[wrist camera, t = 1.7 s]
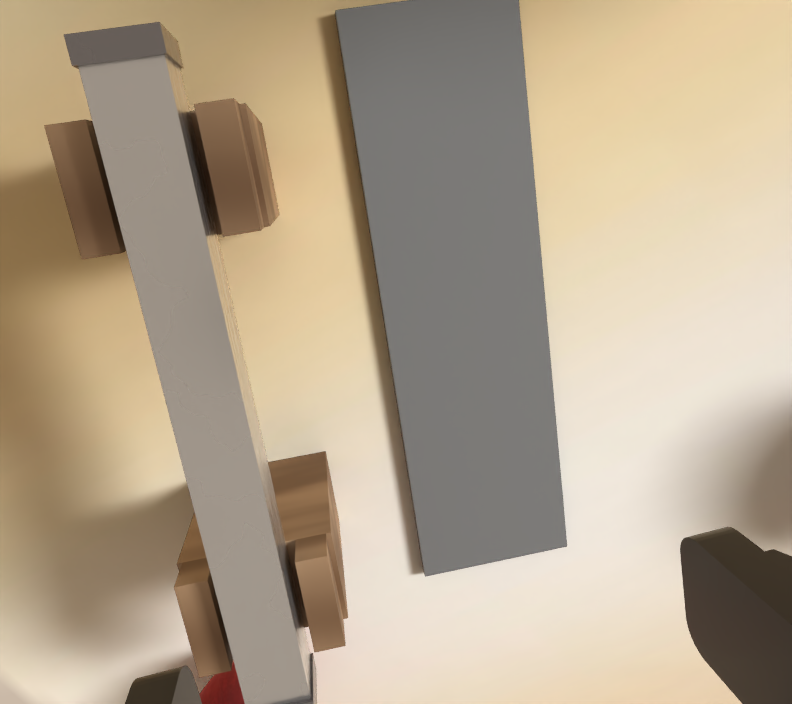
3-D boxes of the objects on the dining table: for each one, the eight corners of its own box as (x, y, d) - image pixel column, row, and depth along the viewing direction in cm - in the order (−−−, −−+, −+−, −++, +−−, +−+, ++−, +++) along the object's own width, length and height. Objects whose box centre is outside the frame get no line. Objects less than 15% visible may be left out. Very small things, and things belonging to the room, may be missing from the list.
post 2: (207, 474, 33) (168, 588, 24) (325, 451, 33) (332, 554, 24) (224, 543, 34) (193, 679, 25) (339, 520, 34) (350, 644, 25)
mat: (335, 13, 28) (335, 10, 28) (513, -11, 29) (517, -14, 28) (423, 570, 36) (425, 576, 35) (563, 540, 37) (567, 546, 36)
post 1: (124, 143, 28) (37, 126, 19) (261, 123, 29) (240, 97, 20) (147, 235, 30) (75, 260, 20) (279, 214, 30) (267, 229, 21)
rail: (93, 52, 20) (63, 34, 18) (177, 41, 21) (159, 21, 18) (253, 683, 27) (248, 734, 24) (316, 669, 27) (317, 718, 25)
